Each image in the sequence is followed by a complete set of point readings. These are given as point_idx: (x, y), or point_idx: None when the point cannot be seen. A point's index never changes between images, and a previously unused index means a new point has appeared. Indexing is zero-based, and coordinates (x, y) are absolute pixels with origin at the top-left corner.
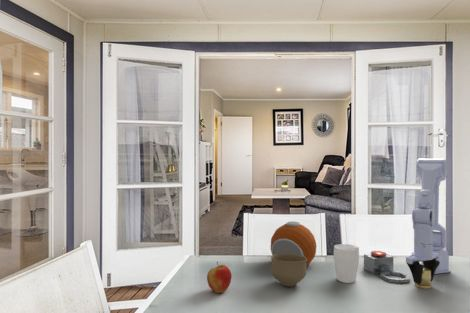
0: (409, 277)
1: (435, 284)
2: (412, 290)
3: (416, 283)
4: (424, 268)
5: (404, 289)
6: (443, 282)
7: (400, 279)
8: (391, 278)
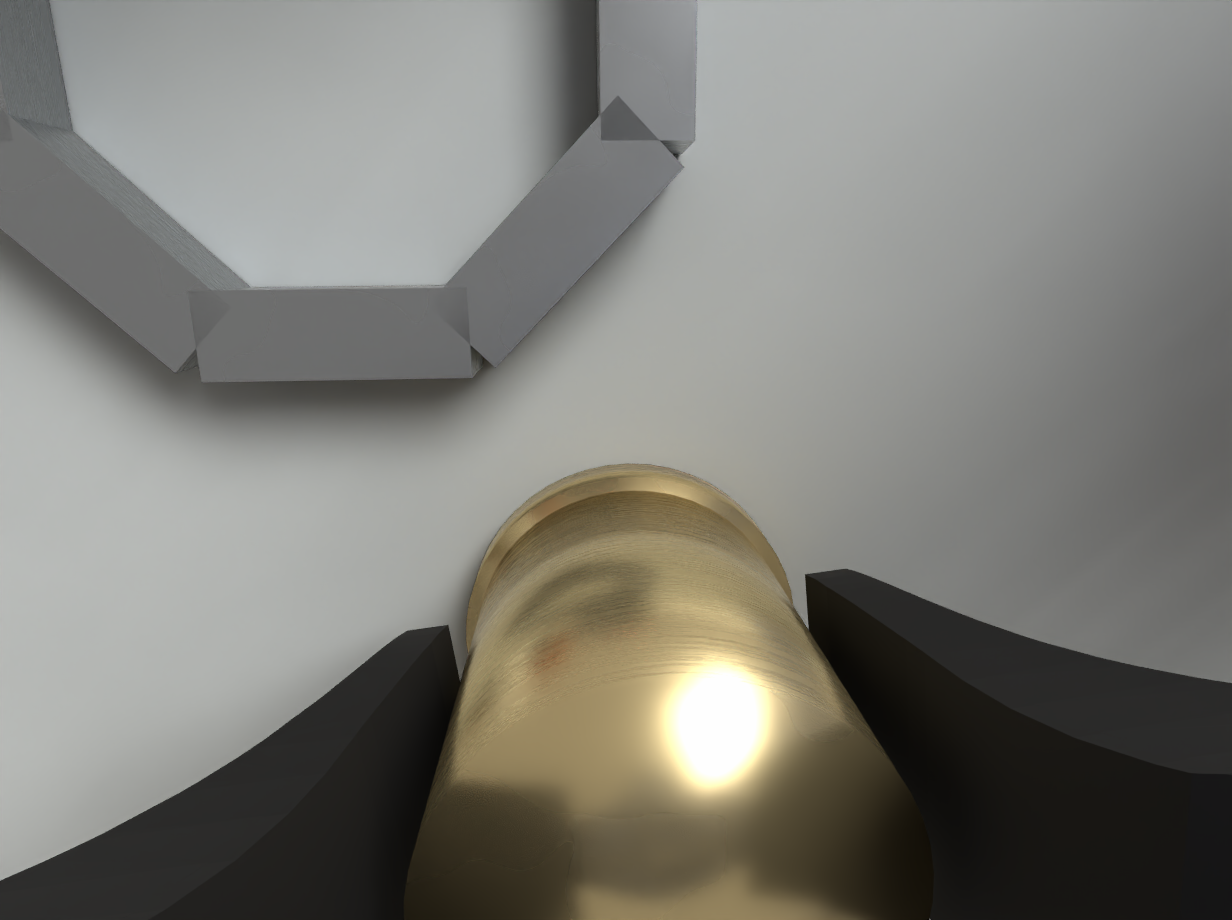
0: (625, 229)
1: (941, 605)
2: (251, 736)
3: (477, 620)
4: (769, 885)
5: (120, 661)
6: (1190, 561)
7: (236, 338)
8: (22, 198)
